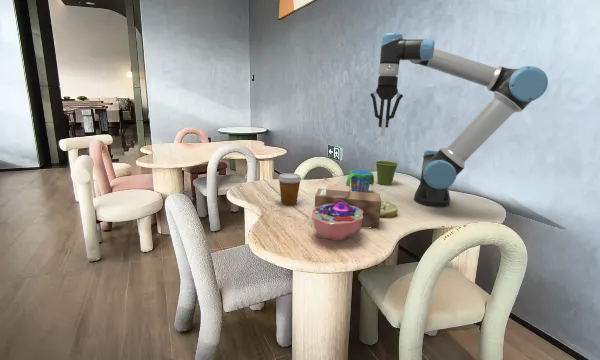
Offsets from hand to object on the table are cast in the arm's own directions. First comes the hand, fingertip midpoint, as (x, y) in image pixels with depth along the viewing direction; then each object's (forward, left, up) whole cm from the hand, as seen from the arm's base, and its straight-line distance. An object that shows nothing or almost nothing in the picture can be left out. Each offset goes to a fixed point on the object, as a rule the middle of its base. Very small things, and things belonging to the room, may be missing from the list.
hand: (382, 135), depth 144 cm
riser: (+12, +24, -29) cm, 40 cm away
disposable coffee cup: (+36, +11, -30) cm, 48 cm away
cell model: (+14, +40, -30) cm, 51 cm away
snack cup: (+7, -14, -30) cm, 34 cm away
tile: (+11, +24, -18) cm, 32 cm away
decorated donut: (-2, +12, -30) cm, 32 cm away
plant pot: (-6, -36, -30) cm, 47 cm away
